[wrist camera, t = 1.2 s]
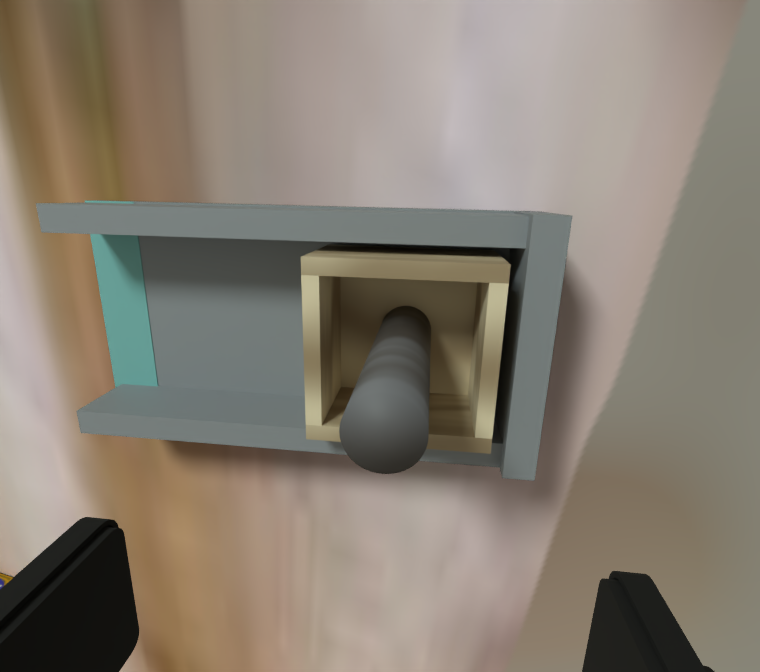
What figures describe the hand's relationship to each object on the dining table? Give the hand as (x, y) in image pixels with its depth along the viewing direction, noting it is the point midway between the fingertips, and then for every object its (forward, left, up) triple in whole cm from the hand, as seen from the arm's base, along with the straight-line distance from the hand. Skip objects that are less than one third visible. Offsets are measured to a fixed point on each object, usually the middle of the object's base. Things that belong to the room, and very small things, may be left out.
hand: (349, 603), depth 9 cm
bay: (0, -6, -20) cm, 21 cm away
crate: (-1, 0, -18) cm, 18 cm away
